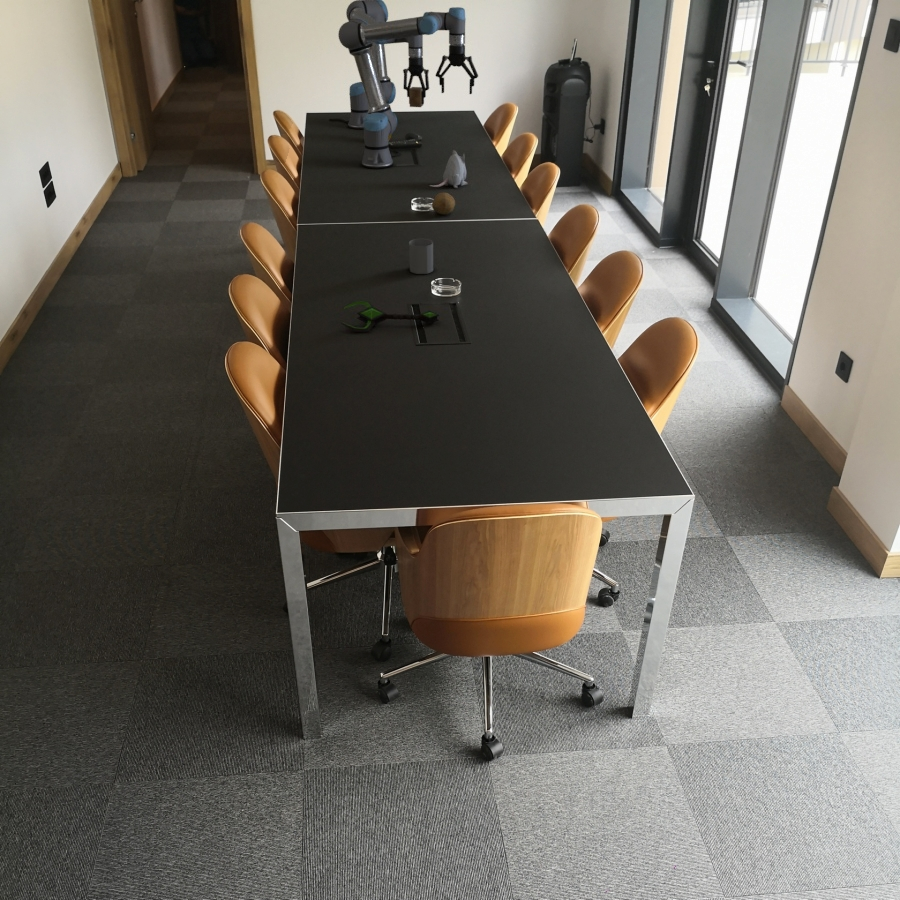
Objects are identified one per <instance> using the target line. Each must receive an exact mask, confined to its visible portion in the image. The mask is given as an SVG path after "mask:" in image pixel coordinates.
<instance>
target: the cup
mask: <svg viewBox="0 0 900 900" xmlns="http://www.w3.org/2000/svg"><path fill="white" fill-rule="evenodd" d="M408 253H409V272H411V273H412V274H416V275H426V274H430V273H432V272H434V241H433V240H431V239H428V238H422V237H421V238H420V237H419V238H414V239H411V240H410V241H409V242H408Z"/></svg>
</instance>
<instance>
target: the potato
mask: <svg viewBox="0 0 900 900" xmlns="http://www.w3.org/2000/svg"><path fill="white" fill-rule="evenodd" d="M455 206H456V200H455V198H454V196H452V195H451V194H449V193H448V192H439V193H437V194H436V195H435V197H434V198H433V200H432V201H431V207H432V209H433V210H434V212H436V213H437V214H439V215H441V216H442V215H449V214H450V213H452V212H453V211H454V209H455Z"/></svg>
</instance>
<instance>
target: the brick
mask: <svg viewBox="0 0 900 900" xmlns="http://www.w3.org/2000/svg"><path fill="white" fill-rule="evenodd" d="M421 91H423V90H422V86H411V87H410V89H409V96H410V104H409V107H410V108H422V107H423V106H424V104H423V105H422V98H421Z"/></svg>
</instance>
